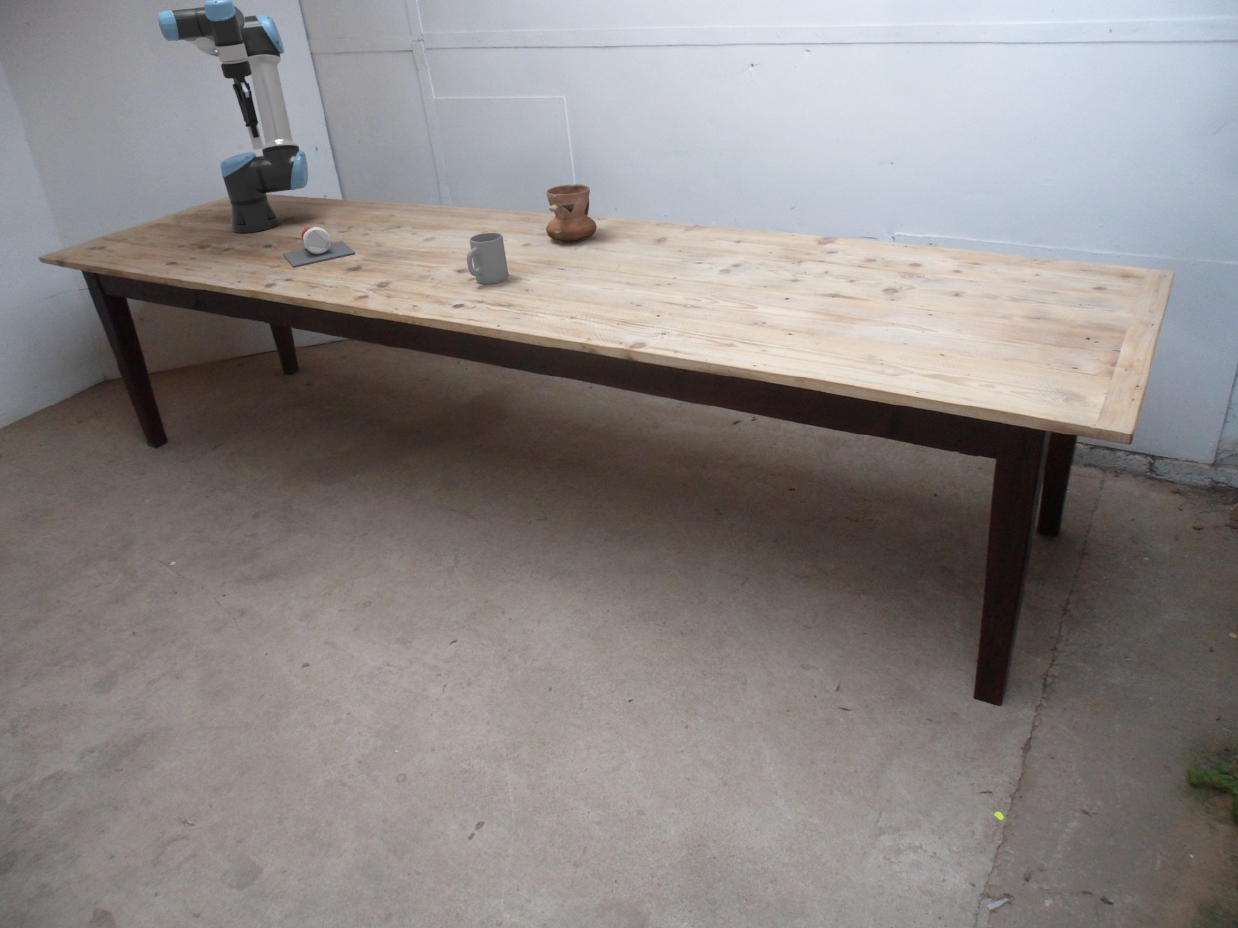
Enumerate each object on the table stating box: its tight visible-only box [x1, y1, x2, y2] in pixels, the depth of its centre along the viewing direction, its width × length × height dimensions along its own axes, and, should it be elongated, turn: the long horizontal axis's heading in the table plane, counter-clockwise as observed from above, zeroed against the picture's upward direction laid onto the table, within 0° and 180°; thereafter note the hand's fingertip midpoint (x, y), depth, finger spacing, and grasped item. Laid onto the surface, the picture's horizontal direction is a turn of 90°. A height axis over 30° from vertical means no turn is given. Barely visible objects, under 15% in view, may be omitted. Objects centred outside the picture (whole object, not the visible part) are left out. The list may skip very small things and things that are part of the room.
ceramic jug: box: [545, 183, 597, 243], centre depth 259 cm, size 18×14×14 cm
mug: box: [466, 232, 509, 285], centre depth 233 cm, size 12×8×11 cm
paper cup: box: [300, 226, 332, 254], centre depth 272 cm, size 8×8×14 cm
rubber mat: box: [282, 240, 356, 268], centre depth 271 cm, size 16×18×1 cm
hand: (258, 148), depth 265 cm, fingers closed
